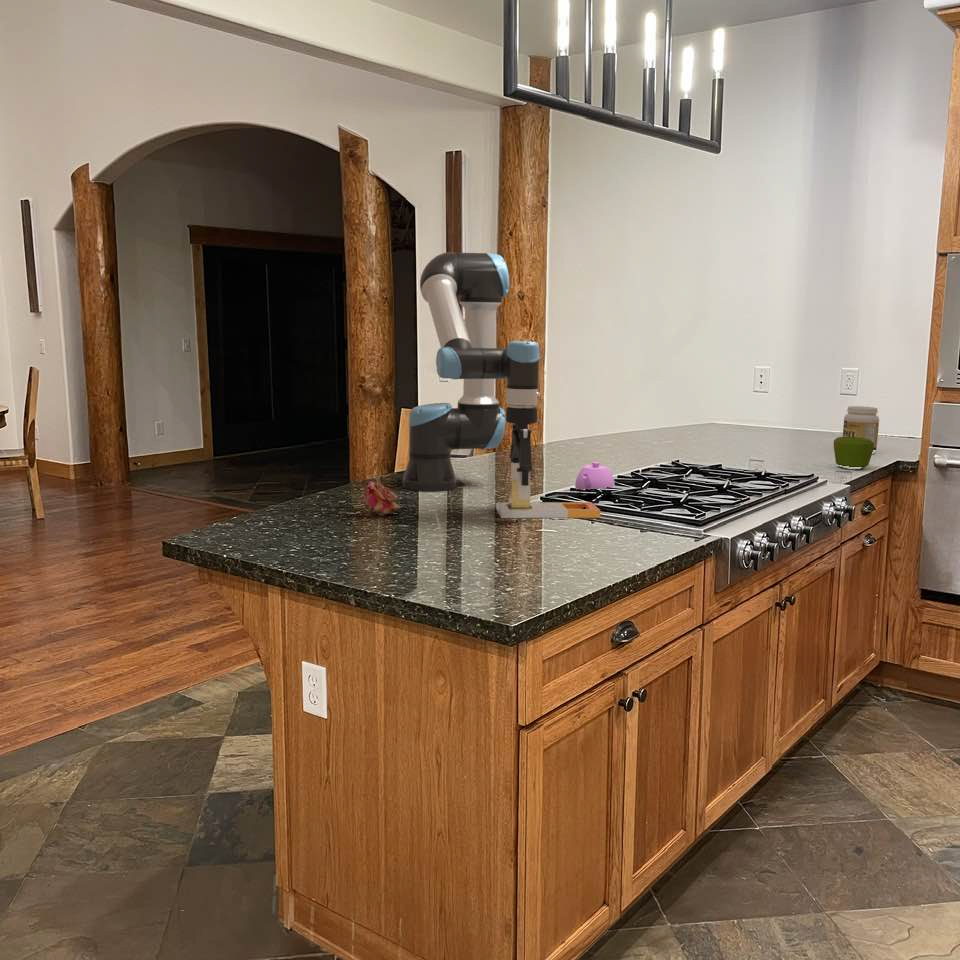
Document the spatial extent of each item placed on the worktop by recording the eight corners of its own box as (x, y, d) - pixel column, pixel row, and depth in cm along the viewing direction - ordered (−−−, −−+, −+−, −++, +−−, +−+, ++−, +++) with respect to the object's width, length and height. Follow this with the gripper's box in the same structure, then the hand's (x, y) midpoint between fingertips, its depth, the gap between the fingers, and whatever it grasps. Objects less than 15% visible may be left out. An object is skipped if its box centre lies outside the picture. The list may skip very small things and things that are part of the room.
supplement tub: (834, 451, 366) (837, 405, 363) (861, 450, 370) (865, 405, 367) (855, 455, 355) (859, 409, 352) (883, 454, 358) (887, 408, 355)
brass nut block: (511, 515, 235) (511, 482, 233) (508, 511, 239) (509, 479, 238) (529, 515, 235) (530, 482, 234) (526, 511, 240) (527, 479, 238)
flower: (357, 512, 230) (377, 485, 229) (351, 497, 238) (371, 471, 237) (389, 532, 234) (409, 506, 233) (383, 516, 242) (402, 492, 241)
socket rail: (501, 520, 232) (501, 510, 231) (496, 511, 242) (496, 502, 241) (600, 520, 234) (600, 510, 234) (591, 511, 244) (591, 502, 244)
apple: (879, 470, 320) (882, 436, 318) (850, 472, 316) (853, 437, 314) (852, 464, 332) (855, 431, 330) (823, 466, 327) (826, 432, 325)
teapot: (620, 494, 269) (622, 460, 268) (601, 502, 256) (602, 467, 255) (585, 490, 274) (587, 457, 273) (564, 498, 261) (566, 464, 259)
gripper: (545, 411, 221) (543, 503, 224) (529, 402, 245) (527, 485, 249) (513, 410, 220) (511, 503, 224) (500, 401, 245) (498, 485, 248)
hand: (519, 493), depth 236 cm, fingers open, 13 cm apart
